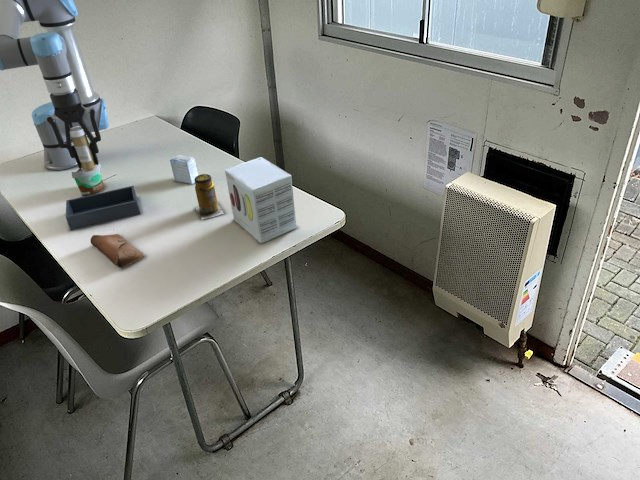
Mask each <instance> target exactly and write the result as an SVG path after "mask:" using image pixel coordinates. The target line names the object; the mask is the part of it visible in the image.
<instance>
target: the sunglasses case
mask: <svg viewBox="0 0 640 480" xmlns="http://www.w3.org/2000/svg"><path fill="white" fill-rule="evenodd" d="M90 244H91V245H92V246H93V247H94V248H95V249H97V250H98V251H99V252H100V253H101V254H103V255H104V256H105V257H106V258H107V259H108V260H109V261H110V262H112V263H113V264H114V265H115V266H116V267H118V268H120V269H125V268H128V267H130V266H132V265H133V264H135V263H136V262H139V261H140V260H142V259H143V258H144V257H145V255H144V254H143V252H141V251H140V250H138V249H137V248H136V247H134V246H133V245H132V244H130V242H128V241H127V240H126V239H125V238H123V237H122V236H121V235H120V234H119V233H115V234H101V235H100V234H93V235H92V236H91V237H90Z"/></svg>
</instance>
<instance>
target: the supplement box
mask: <svg viewBox="0 0 640 480" xmlns="http://www.w3.org/2000/svg"><path fill="white" fill-rule="evenodd" d="M224 174H225V177H226V184H227V189H228V195H229V201H230V206H231V211H232V217H233V220H234V221H235V222H236V223H237V224H239V225H240V227H241V228H243V229H244V230H245V231H246V232H247V233H248V234H249V235H251V236H252V237H253V238H254V239H255V240H256V241H257V242H258V243H259V244H264V243H266V242H268V241H270V240H272V239H274V238H277V237H279V236H281V235H284V234H286V233H288V232H290V231H293V230H295V229H297V227H298V226H297V218H296V209H295V208H296V207H295V199H294V187H293V178H292V174H291V173H288V172H287V171H285V170H284V169H282V168H280V166H278V165H276V164H274V163H272V162H271V161H269V160H267V159H266V158H264V157H262V156H260V157H256V158H253V159H250V160H248V161H244V162H242V163H239V164H236V165H235V166H234V165H233V166H230V167H228V168H225V169H224Z"/></svg>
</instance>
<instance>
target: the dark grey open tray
mask: <svg viewBox="0 0 640 480" xmlns="http://www.w3.org/2000/svg"><path fill="white" fill-rule="evenodd" d="M140 209H141V208H140V204H139V200H138V195H137V192H136V189H135V186H134V185H130V186H125V187H121V188H116V189H112V190H106V191H101V192H99V193H97V194H93V195H89V196H79V197H74V198H70V199H67V200H65V220H66V222H67V224H68V227H69V229H70V231H74V230H79V229H84V228H88V227H91V226H96V225H101V224H105V223H109V222H113V221H117V220H121V219H126V218H129V217H130V218H131V217H134V216H138V215H141V210H140Z"/></svg>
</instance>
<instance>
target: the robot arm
mask: <svg viewBox="0 0 640 480" xmlns="http://www.w3.org/2000/svg"><path fill="white" fill-rule="evenodd" d="M78 15H79V13H78V9H77V6H76V4H75V1H74V0H0V71H5V70H11V69H18V68H24V67H32V66H38V67H39V69H40V72H41V75H42V79H43V81H44V84H45V86H46V90H47V92H48V93H49V98H50V102H47V103H44V104H41V105H39V106H37V107H35V108H34V109H33V111H31V118H32V122H33V125H34V126H35V129H36V132H37V134H38V137H39V140H40V142H41V145H42V147H43V162H42V163H43V165H45V168H46V169H47V170H49V171H64V170H68V169H72V168H75V167H78V169H80V168H82V167H81V163H80V161H79V158H78V155H77V153H76V150H75V147H74V144H73V141H72V138H71V137H70V128H73V127H77V126H81V127H82V129H83V130H84V132H85V134H86V136H87V139H88V142H89V145H90V148H91V151H92V154H93V157H94V160H95V163H96V165H98V164H99V163H100V162H99V158H98V156H97V154H99V150H100V149H99V147H98V144H97V143H99V142H101V141H102V136H101V132H100V131H103V130H107V129H108V128H109V126H110V125H109V118H108V112H107V106H106V100H105V98H101V97H100V94H99V93H98V92H95V91H94V88H93V85H92V82H91V79H90V76H89V73H88V70H87V67H86V63H85V60H84V57H83V53H82V51H81V48H80V45H79V42H78V38H77V35H76V32H75V30H74V29H75V28H74V26H75V24H76V21H77V20H76V18H75V17H77V16H78ZM28 22H38V24H39V26H40V27H41V29H43V30H45V32H41V33H36V34H34V35H32V36H27V37H21V31H22V25H24V23H28ZM93 133H94V135H93Z"/></svg>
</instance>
